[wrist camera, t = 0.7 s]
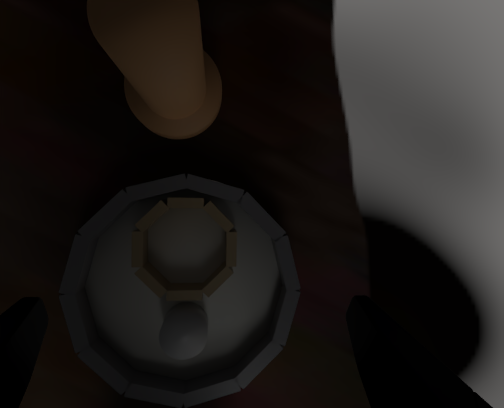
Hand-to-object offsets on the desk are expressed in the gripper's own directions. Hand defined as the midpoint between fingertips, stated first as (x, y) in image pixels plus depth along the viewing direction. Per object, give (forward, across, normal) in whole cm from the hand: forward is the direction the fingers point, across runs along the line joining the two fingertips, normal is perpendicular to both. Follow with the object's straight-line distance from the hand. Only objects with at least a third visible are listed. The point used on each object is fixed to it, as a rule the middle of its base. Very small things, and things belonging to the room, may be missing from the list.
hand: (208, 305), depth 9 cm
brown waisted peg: (+18, +2, 0) cm, 18 cm away
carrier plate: (+11, +1, +11) cm, 16 cm away
